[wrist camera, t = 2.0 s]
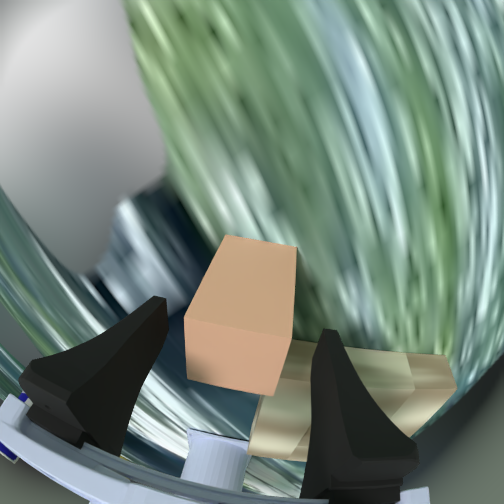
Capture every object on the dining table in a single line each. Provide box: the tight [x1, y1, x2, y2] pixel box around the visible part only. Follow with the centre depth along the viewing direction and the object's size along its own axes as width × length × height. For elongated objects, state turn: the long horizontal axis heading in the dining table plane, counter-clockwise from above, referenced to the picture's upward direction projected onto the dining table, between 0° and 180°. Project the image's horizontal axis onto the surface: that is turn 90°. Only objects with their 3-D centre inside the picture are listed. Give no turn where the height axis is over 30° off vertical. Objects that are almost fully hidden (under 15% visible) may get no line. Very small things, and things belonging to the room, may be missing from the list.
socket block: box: [247, 339, 457, 462], centre depth 21 cm, size 14×14×4 cm
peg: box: [184, 235, 297, 396], centre depth 15 cm, size 4×4×7 cm
